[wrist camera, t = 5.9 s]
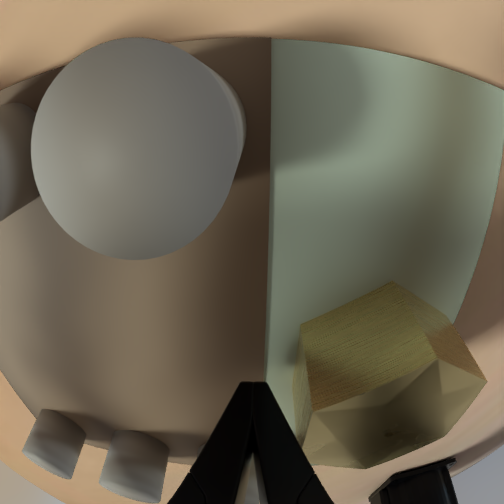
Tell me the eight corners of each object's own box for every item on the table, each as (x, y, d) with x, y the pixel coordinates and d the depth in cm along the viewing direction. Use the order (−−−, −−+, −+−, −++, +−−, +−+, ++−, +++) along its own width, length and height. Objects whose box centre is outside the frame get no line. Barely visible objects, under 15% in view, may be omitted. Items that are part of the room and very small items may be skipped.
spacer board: (492, 90, 6) (590, 108, 2) (371, 448, 14) (382, 502, 11) (-69, 133, 6) (-133, 161, 3) (50, 421, 14) (31, 466, 11)
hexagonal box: (460, 278, 8) (511, 342, 5) (407, 395, 10) (427, 454, 8) (304, 281, 8) (323, 370, 5) (288, 407, 11) (292, 476, 8)
